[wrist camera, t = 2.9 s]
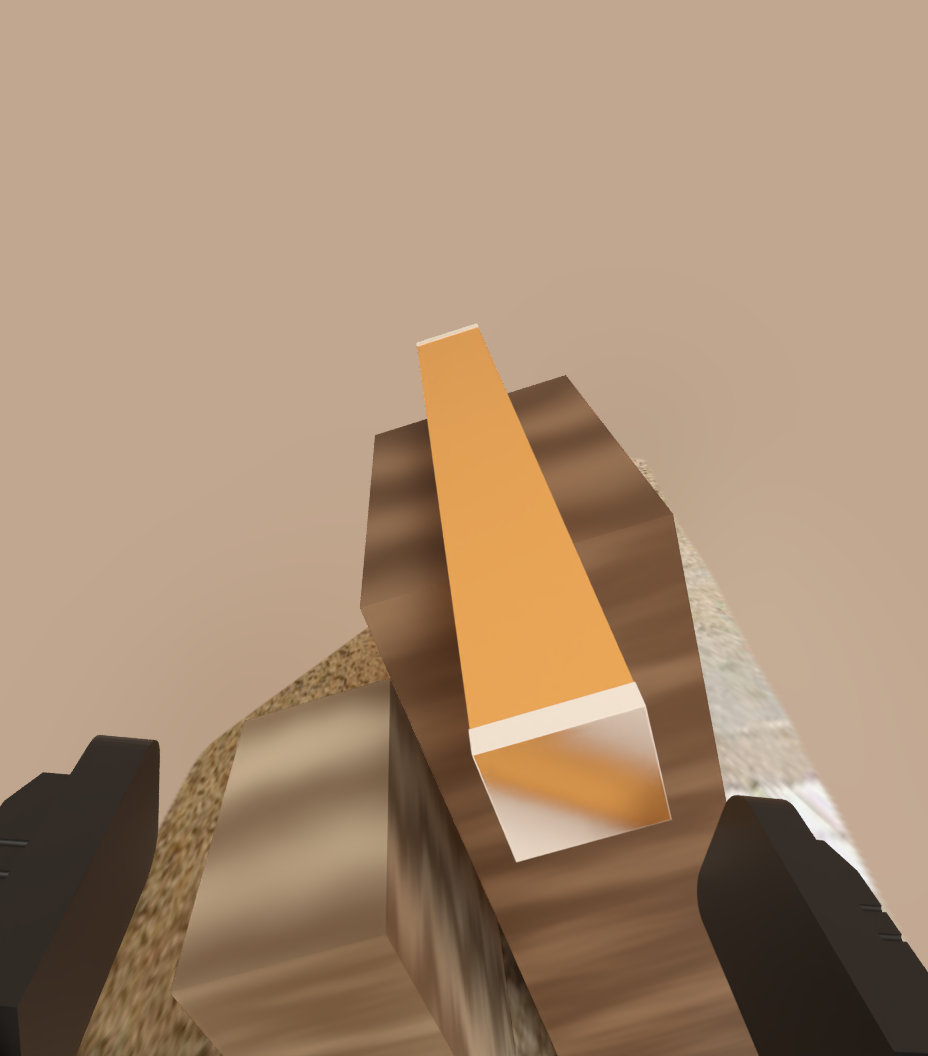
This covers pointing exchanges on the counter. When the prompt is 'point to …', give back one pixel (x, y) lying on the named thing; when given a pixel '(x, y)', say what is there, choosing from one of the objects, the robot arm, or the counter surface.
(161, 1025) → the counter surface
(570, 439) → the tall stand
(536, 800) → the pale tan wood block
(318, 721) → the short stand
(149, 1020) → the counter surface
